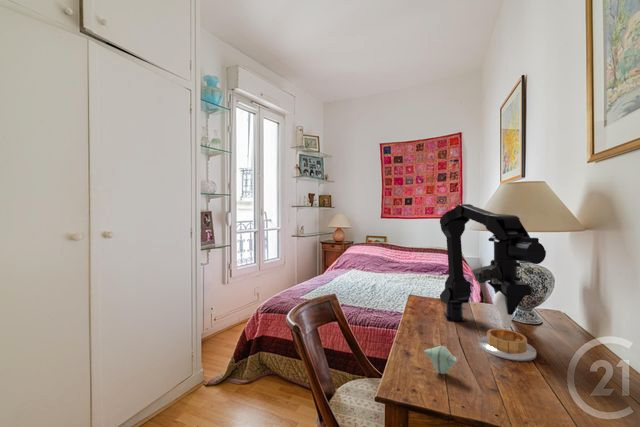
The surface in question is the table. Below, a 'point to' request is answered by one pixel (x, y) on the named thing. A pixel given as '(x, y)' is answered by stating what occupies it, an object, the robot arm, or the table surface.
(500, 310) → the lightbulb
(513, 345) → the wooden ring on plate
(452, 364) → the robot head
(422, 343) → the table surface
